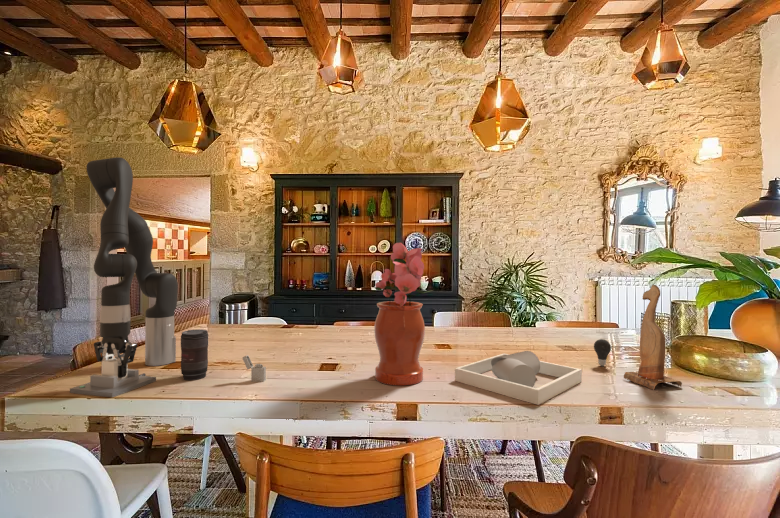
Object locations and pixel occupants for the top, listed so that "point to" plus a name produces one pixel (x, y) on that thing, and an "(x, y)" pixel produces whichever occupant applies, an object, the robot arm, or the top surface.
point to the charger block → (111, 368)
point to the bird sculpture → (651, 347)
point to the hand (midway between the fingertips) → (115, 376)
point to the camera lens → (194, 354)
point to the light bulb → (602, 350)
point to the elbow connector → (517, 368)
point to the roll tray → (529, 394)
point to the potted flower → (400, 321)
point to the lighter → (255, 370)
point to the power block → (113, 384)
